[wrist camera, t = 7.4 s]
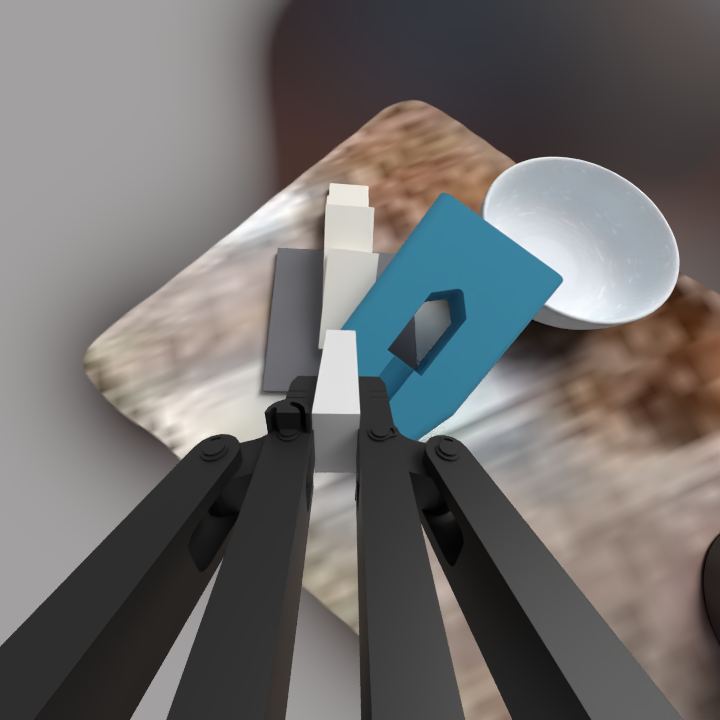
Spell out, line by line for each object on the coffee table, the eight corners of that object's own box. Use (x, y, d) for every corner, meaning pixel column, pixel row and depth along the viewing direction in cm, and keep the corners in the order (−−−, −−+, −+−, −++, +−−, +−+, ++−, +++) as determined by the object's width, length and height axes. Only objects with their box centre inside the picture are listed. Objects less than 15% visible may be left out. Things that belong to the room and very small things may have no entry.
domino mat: (416, 394, 29) (418, 393, 28) (264, 391, 28) (262, 390, 27) (409, 258, 34) (411, 254, 33) (279, 252, 33) (277, 247, 32)
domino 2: (368, 269, 30) (368, 198, 33) (323, 267, 30) (327, 195, 32) (367, 277, 32) (367, 208, 34) (324, 275, 31) (327, 206, 34)
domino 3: (369, 305, 29) (374, 207, 28) (322, 303, 29) (325, 203, 28) (368, 306, 30) (372, 214, 29) (323, 304, 30) (326, 210, 29)
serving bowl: (616, 227, 37) (675, 182, 31) (614, 368, 31) (686, 350, 25) (470, 186, 38) (498, 133, 31) (442, 318, 32) (468, 287, 25)
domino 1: (366, 251, 33) (368, 186, 35) (325, 248, 32) (330, 183, 35) (365, 259, 34) (367, 196, 37) (326, 257, 34) (330, 193, 37)
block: (402, 453, 28) (533, 293, 25) (406, 477, 23) (568, 280, 20) (309, 381, 28) (430, 218, 26) (293, 389, 23) (441, 188, 21)
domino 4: (367, 353, 27) (378, 253, 27) (318, 348, 27) (328, 247, 26) (366, 352, 29) (377, 258, 28) (320, 347, 29) (329, 252, 28)
